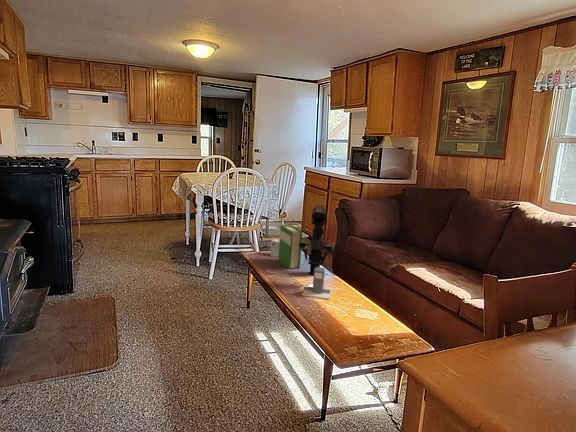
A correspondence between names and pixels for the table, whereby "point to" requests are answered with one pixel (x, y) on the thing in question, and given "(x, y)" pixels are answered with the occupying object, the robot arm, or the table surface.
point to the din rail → (322, 290)
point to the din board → (318, 295)
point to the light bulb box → (275, 247)
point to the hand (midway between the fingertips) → (314, 261)
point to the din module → (318, 280)
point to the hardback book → (290, 246)
